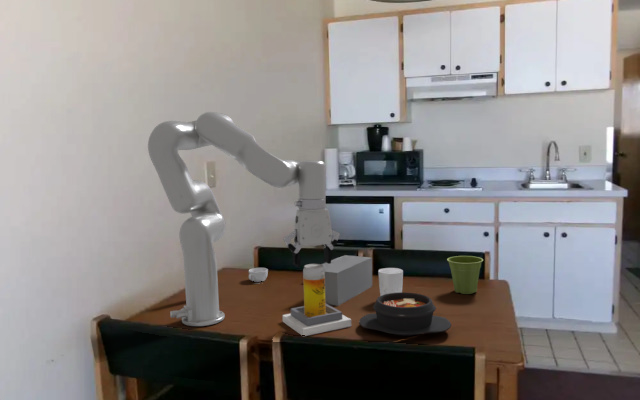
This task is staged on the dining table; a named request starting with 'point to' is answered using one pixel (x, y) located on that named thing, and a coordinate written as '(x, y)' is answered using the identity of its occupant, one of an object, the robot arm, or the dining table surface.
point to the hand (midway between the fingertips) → (312, 264)
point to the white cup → (390, 280)
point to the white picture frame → (316, 321)
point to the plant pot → (465, 273)
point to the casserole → (404, 315)
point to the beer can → (314, 290)
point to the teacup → (258, 274)
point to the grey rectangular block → (346, 278)
